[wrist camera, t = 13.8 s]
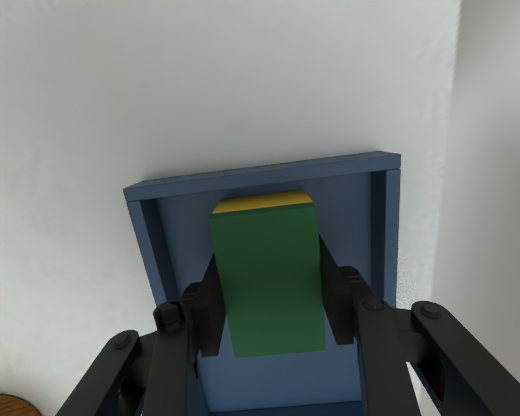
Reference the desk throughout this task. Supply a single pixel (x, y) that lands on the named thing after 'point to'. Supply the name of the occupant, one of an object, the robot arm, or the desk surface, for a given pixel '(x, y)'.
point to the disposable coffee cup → (16, 407)
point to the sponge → (270, 273)
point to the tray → (334, 236)
